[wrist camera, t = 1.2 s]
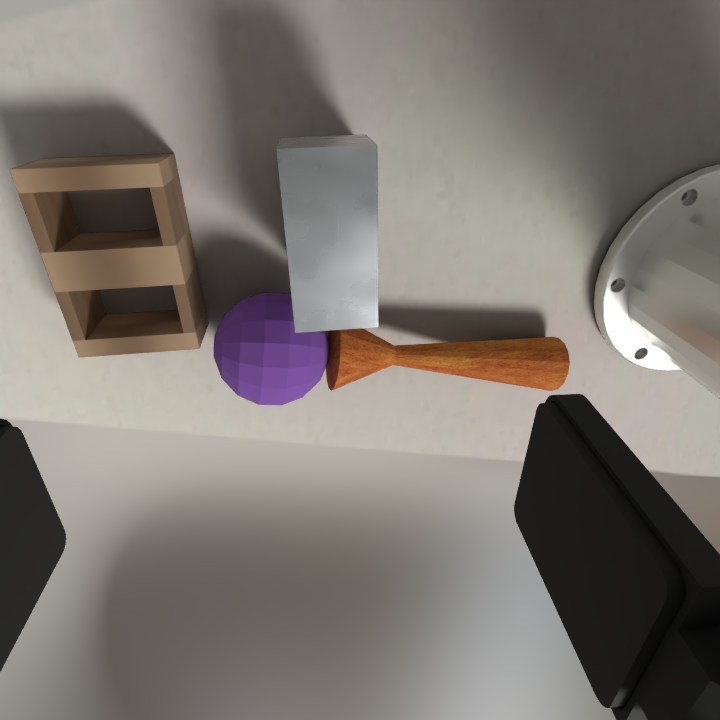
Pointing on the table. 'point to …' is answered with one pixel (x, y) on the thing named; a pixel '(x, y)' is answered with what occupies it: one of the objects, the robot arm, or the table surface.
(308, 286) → the steel brick
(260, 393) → the kendama
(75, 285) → the wooden frame
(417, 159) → the table surface
